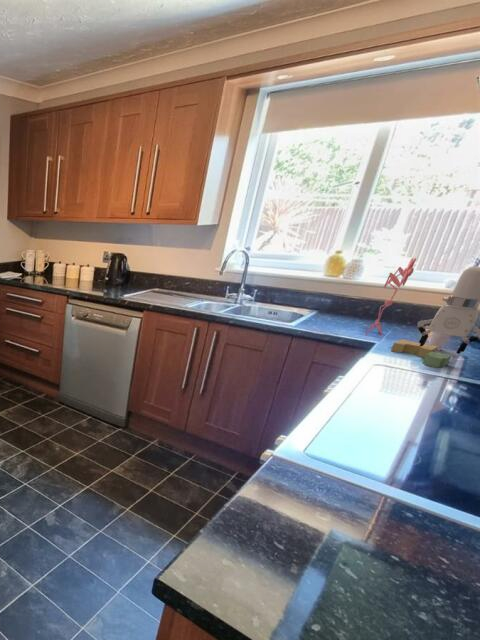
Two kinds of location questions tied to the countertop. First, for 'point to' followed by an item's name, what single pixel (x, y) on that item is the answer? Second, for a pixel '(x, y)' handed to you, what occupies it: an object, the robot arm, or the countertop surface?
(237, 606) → the countertop surface
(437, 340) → the smoothie
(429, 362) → the green pad
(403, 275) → the figurine
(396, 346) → the sand pad
